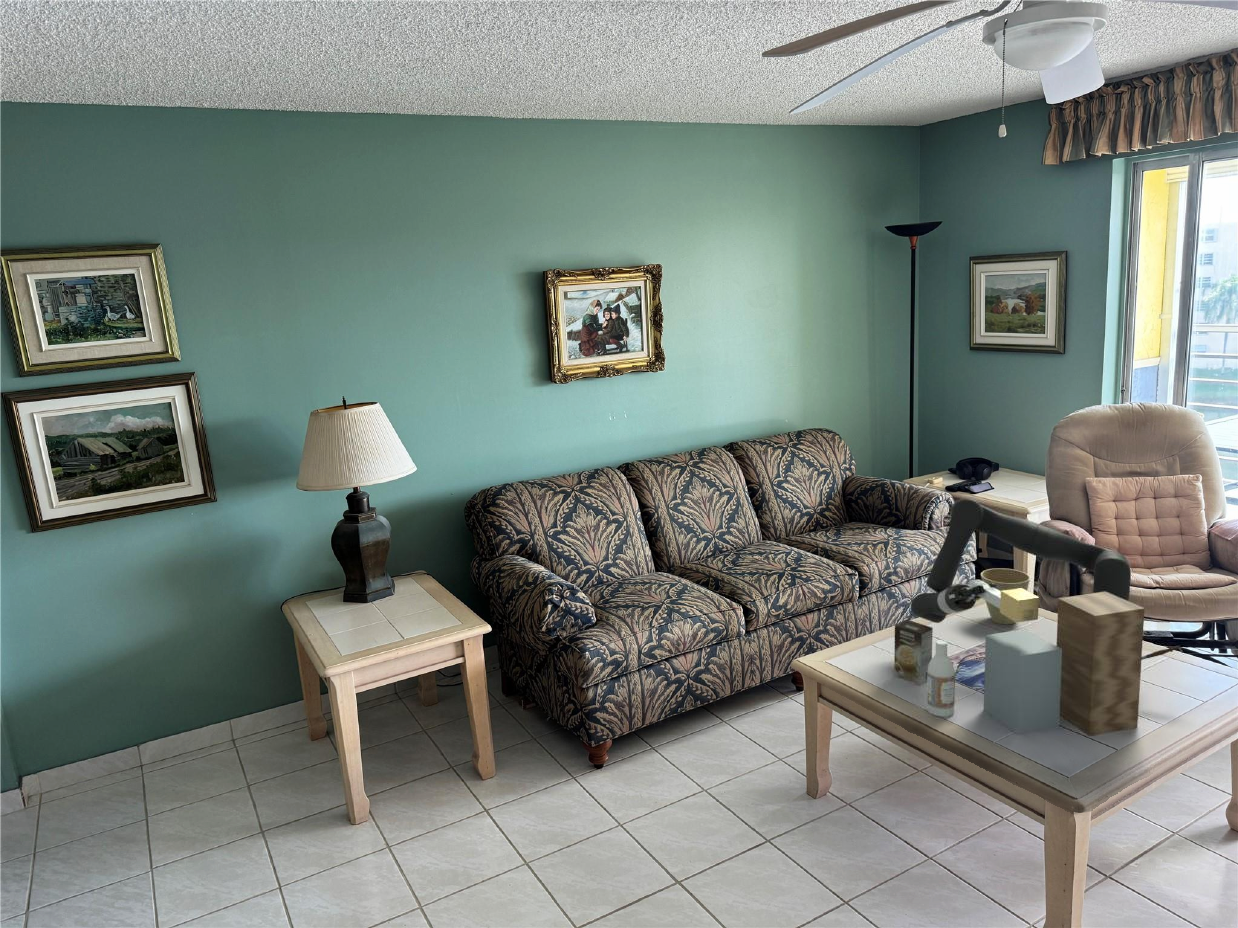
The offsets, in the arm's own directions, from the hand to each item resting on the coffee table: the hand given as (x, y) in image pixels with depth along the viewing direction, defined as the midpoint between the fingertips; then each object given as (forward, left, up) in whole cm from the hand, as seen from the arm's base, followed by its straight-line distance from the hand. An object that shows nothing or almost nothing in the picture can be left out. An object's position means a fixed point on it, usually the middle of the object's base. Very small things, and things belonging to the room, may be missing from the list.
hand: (988, 587), depth 239 cm
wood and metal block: (0, +5, -3) cm, 6 cm away
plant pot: (-37, -44, -32) cm, 66 cm away
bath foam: (+17, +5, -32) cm, 36 cm away
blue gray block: (0, +15, -31) cm, 35 cm away
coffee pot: (-36, +14, -32) cm, 50 cm away
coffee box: (+13, -16, -32) cm, 38 cm away
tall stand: (-17, +21, -31) cm, 42 cm away
